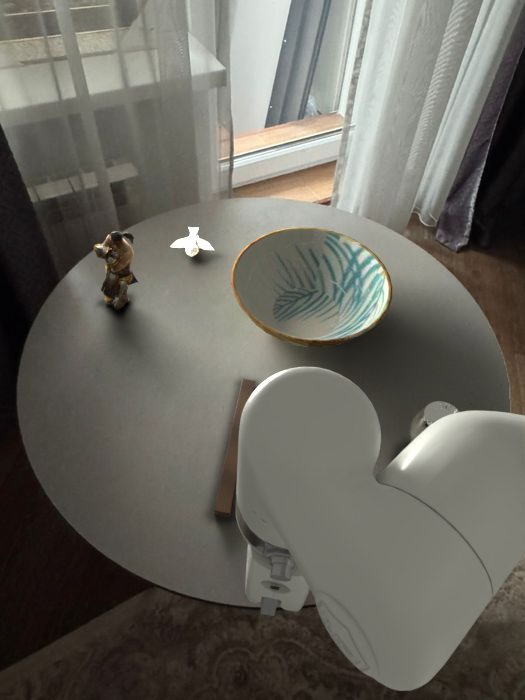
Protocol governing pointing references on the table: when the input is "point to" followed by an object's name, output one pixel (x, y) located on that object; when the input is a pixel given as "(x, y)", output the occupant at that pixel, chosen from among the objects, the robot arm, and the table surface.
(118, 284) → the figurine
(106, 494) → the table surface
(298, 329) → the bowl
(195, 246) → the toy bird
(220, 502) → the rail
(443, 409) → the wineglass
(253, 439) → the robot arm
